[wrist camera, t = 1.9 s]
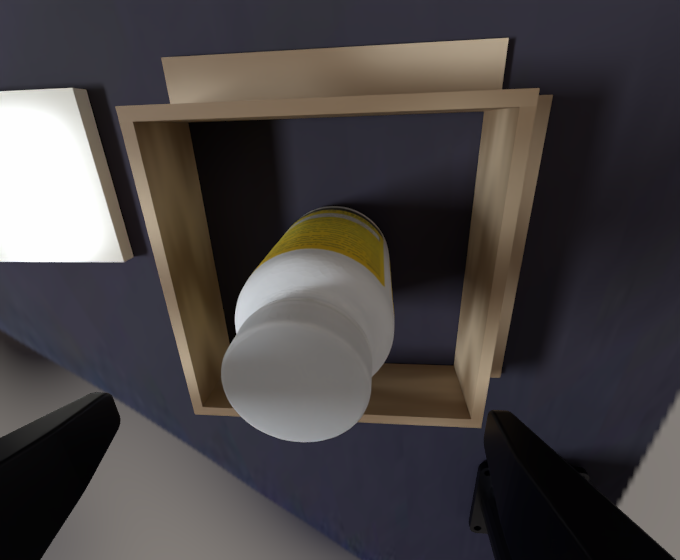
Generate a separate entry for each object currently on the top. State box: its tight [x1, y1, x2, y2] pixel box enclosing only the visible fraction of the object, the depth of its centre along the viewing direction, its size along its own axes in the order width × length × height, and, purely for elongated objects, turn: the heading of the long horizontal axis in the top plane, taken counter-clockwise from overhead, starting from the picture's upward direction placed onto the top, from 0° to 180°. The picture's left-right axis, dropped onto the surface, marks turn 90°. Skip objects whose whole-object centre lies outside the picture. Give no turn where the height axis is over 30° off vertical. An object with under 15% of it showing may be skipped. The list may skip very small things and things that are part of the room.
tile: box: [0, 88, 134, 262], centre depth 17 cm, size 8×8×1 cm
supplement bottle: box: [221, 206, 394, 442], centre depth 13 cm, size 5×5×10 cm
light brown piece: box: [115, 38, 553, 428], centre depth 16 cm, size 18×18×4 cm
